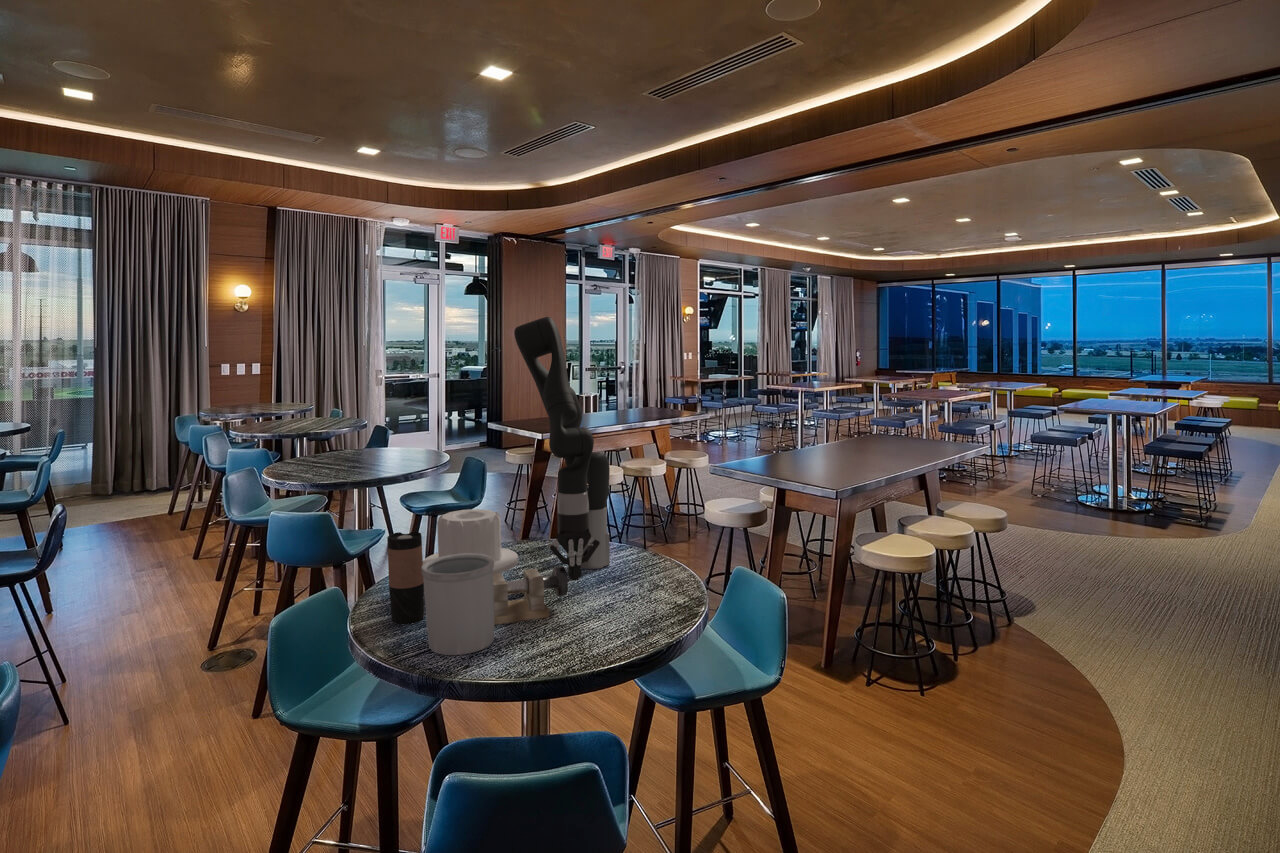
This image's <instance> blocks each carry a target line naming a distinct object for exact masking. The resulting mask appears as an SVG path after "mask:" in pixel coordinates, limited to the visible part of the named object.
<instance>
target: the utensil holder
mask: <svg viewBox="0 0 1280 853" xmlns="http://www.w3.org/2000/svg"><path fill="white" fill-rule="evenodd" d="M493 567H494V561H493V559H492V558H491V557H490V556H487V555H484V554H475V553H463V554H453V555H447V556H443V557H439V558H435V559H432V560H430V561H428V562H426V563H424V564H423V565H422V568H421V569H422V575H423V578H424V610H425V620H426V623H425V624H426V632H427V642H428V643H427V644H428V647H429V650H430V649H431V650H432V651H431V650H430V651H431V652H433V653H435V652H436V653H435V654H439V655H444V656H462V655H468V654H472V653H477V652H479V651H482V650H484V649H486V648H488V647H489V646H490V645H492V644H493V642H494V641H495V625H494V592H493Z"/></svg>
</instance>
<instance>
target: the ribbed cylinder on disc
mask: <svg viewBox="0 0 1280 853" xmlns="http://www.w3.org/2000/svg"><path fill="white" fill-rule="evenodd" d="M501 522H502V521H501V515H500V513H498V511H492V510H491V509H478V508H475V509H474V508H473V509H470V508H469V509H461V510H454V511H449V512H446V513H445V514H440V516H439V517H438V520H437V523H436V526H437V528H436V529H437V551H438V552H436V553H434V554H431V555H429V556H427V557H425V558H424V559H423V564H424V563H426V562H428V561H430V560H432V559H435V558H439V557H443V556H447V555H453V554H463V553H475V554H484V555H487V556H490V557H491V558H492V559H493V561H494V567H493V574H495V573H501V574H502V573H504V572H507V571H510V570H511V569H513V568H514V567H516V566H517V565H518V563H519V555H518V554H517V552H515V551H513V550H511V549H508V548H504V547H502V529H501V528H502V526H501V525H502V524H501Z"/></svg>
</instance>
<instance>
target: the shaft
mask: <svg viewBox="0 0 1280 853" xmlns="http://www.w3.org/2000/svg"><path fill="white" fill-rule="evenodd" d="M566 570H567V569H566V567H565V566H563V565H562V566H554V567H553V569H552V575H550V576H542V578H543V579H544V591H546V590H552V589H553V591H554V595H556V597H559V598H560V597H563V596H564V597H565V596H567V594H568V590H569V581H568V574H567V571H566ZM506 582H507V593H508V595H515V594H521V593H523V594H524V592H529V579H524V578H523V579H518V580H517V579H516V580H510V581H508V580H507V581H506Z"/></svg>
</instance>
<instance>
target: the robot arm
mask: <svg viewBox="0 0 1280 853" xmlns="http://www.w3.org/2000/svg"><path fill="white" fill-rule="evenodd" d="M557 326H558V325H557V324H556V322H555V320H554V319H553V318H552V317H550V316H545V317H541V318H537V319H535V320H532V321H530V322H527V323H523V324H521V325H519V326H518V325H517V326H516V327H515V329H514V339H515V342H516V346H517V347H518V349H519V352H520V353H521V354H520V355H521V356H522V358H523V359H524V360H523V361H524V362H525V364H526V366H527V368H528V370H529V372H530V375H531V377H532V378H533V381H534V383H535V385H536V388H537V390H538V393H539V396H540V399H541V401H542V404H543V407H544V408H545V411H546V413H547V417H548V420H549V421H548V422H549V440H548V443H549V450H550V452H551V453H552V454H553V455H554V457H556V458H558V459H563V460H564V463H565V466H564V467H560V469H559V470H558V472H557V502H556V503H557V505H556V506H557V534H556V536H555V540H554V541H553V542H551V543H549V544H548V545H547V547H548V549H549V550H550V551H551V552H552V553H553V554H554V555H555V556H556V558H557V559H558V560H559V561H560V562H561V564H563V565H567V570H568V574H567V576H568V577H569V579H570V580H571V581H573V582H575V581H579V580H580V578H582V577H581V576H582V569H585V570H596V569H602V568H604V566H605V567H607V565H609V566H610V564H611V562H610V561H611V560H610V556H611V554H610V533H609V532H608V514H607V513H608V505H607V504H608V498H609V494H610V473H611V472H610V471H611V470H610V462H609V458H608V457H607V455H605V453H602V452H593V451H594V446H595V445H594V444H595V442H594V441H595V440H594V435H593V433H592V431H591V430H590V429H589V428H587V427H584V426H581V425H582V421H583V410H582V407H581V403H580V401H579V399H578V395H577V393H576V391H575V390H574V388H572V386H570V382H569V376H568V370H567V363H566V359H565V358H566V357H565V353H564V346H563V342H562V338H561V334H560V331H559V330H558V327H557ZM548 354H551V363H550V365H549V366H550V367H549V370H548V369H547V368H546V367H545V366H544V364H543V363H542V362H541V361H540V360H539V358H540V357H543V356H546V355H548ZM559 545H560V546H559ZM560 547H561V548H562V549H563V550H564V551H565V554H566V557H564V555H563V554H562V553H561V552H560V551H559V550H560Z"/></svg>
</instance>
